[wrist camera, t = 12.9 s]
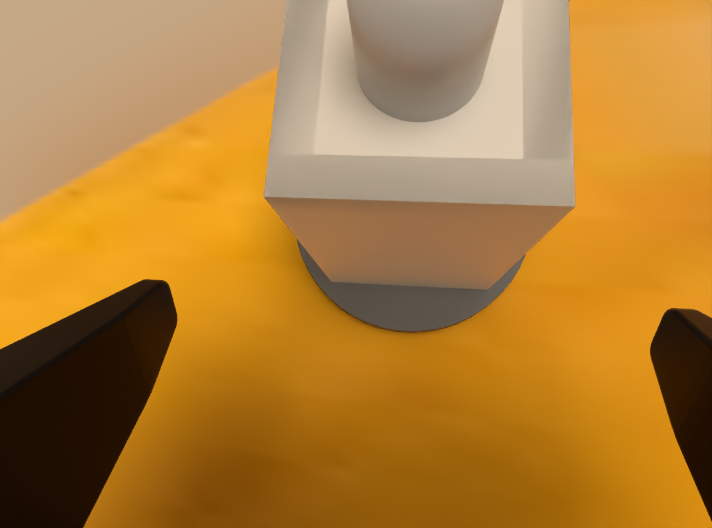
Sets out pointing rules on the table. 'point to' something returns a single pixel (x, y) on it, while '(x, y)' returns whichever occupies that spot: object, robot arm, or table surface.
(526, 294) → the table surface
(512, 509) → the table surface
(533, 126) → the rubber stamp
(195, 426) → the table surface
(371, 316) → the gray disc
